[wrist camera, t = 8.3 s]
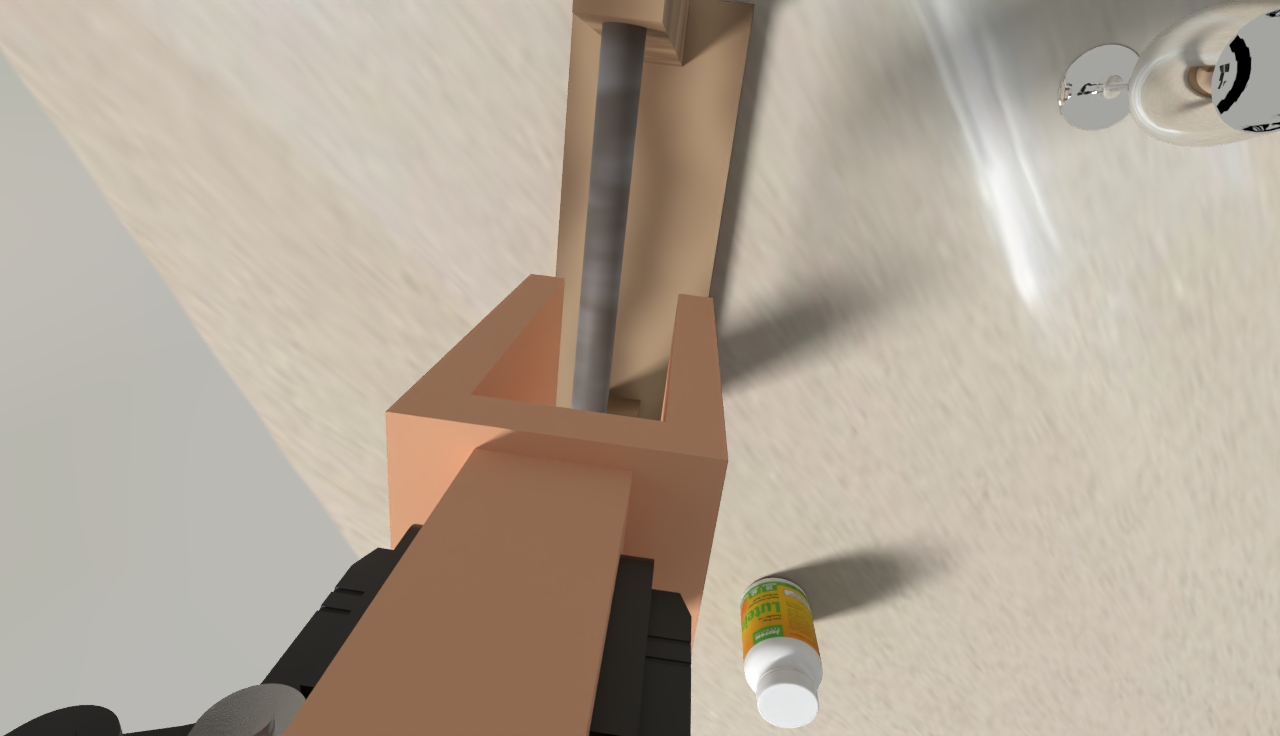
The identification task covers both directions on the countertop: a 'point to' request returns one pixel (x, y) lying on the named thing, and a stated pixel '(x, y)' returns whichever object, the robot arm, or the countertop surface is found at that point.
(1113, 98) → the wineglass
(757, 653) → the supplement bottle
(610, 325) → the hook stand
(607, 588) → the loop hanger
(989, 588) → the countertop surface
